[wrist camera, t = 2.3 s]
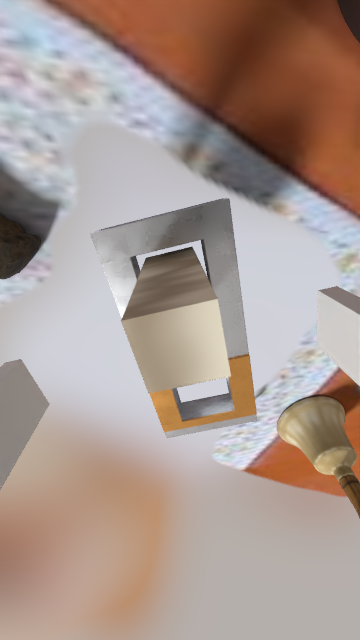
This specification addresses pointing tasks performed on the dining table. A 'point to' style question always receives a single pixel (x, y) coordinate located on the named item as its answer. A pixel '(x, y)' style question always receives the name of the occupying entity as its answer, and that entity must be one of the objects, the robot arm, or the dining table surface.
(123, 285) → the grey board
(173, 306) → the peg
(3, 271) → the hand tool
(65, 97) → the dining table surface
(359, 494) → the hand bell
